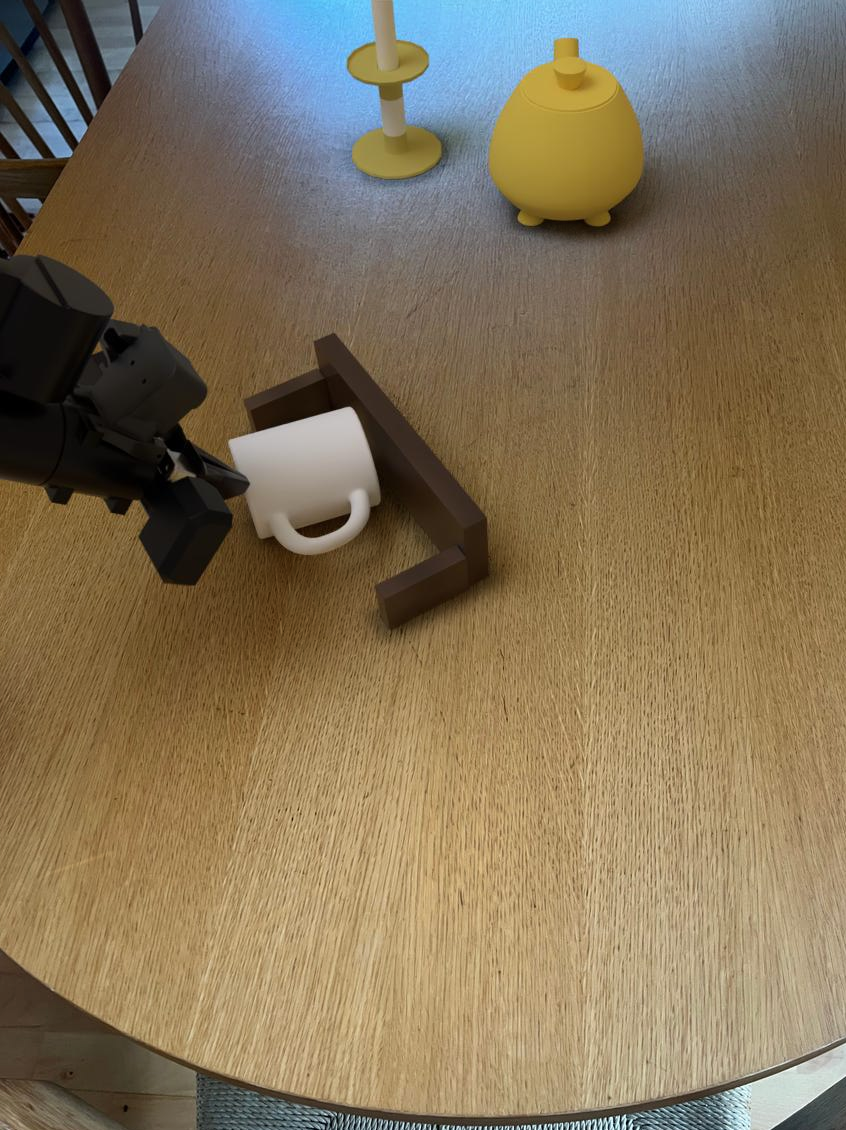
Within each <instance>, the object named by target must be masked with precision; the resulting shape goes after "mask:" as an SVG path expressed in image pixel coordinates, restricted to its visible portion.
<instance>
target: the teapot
mask: <svg viewBox="0 0 846 1130" xmlns="http://www.w3.org/2000/svg"><path fill="white" fill-rule="evenodd" d="M644 159H645V151H644V140H643V136H642V130H641V126H640V123H639V119H638V116H637V114H636V112H635V110H634V108H633V105H632V103H631V101H630V99H629V97H628V96H627V94H626V92H625V90H624V88H623V86H622V85H621V83H620V82H619V81H618V80H617V78H616V76H615V75H614V74H613V73H612V72H610V71H609V70H608V69H607V68H605V67H603V66H601V65H599V64H596V63H594V62H591V61H590V62H589V61H586V60H584V59H583V58H581V57H580V45H579V39H578V38H575V37H561V38H557V39H555V40H553V61H549V62H545V63H542V64H540V65H537V66H536V67H534V68H532V69H531V70H530V71H528V72H526V74H525V75H524V76H523V77H522V78H521V79H520V81H519V82H518V84H516V85H515V88H514V90H513V91H512V93H511V94H510V96H509V97H508V98H507V100H506V102H505V104H504V105H503V107H502V110H501V111H500V113H499V115H498V117H497V120H496V122H495V125H494V128H493V132H492V135H491V139H490V145H489V149H488V171H489V176H490V178H491V180H492V182H493V184H494V186H495V188H496V189H497V190H498V191H499V192H500V193H501V194H502V195H503V197H505V198H506V200H508V201H509V202H510V203H511V204H512V205H513V206H514V207H516V208H517V209H519V210H520V211H519V213H518V215H517V221H518V222H519V223H520V224H522V225H524V226H527V227H530V226H531V227H535V226H539V225H541V224H542V223H543V222H544V221H545V220H552V221H578V220H583V221H584V223H586V224H587V225H589V226H593V227H602V226H605V225H608V224H609V223H610V221H611V215H610V213H609V211H610V210H611V209H613V208H614V207H615V206H617V205H618V204H619V203H621V202H622V201H623V200H625V198H626V197H627V196H628V195H630V193H632V191H633V190H634V189H635V188H636V187H637V185H638V183H639V181H640V179H641V177H642V174H643V171H644V162H645V161H644Z"/></svg>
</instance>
